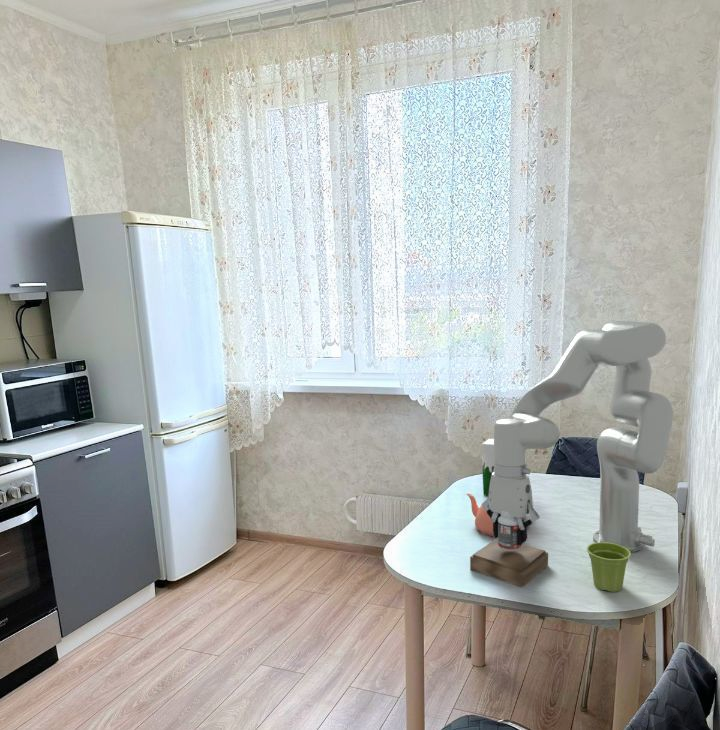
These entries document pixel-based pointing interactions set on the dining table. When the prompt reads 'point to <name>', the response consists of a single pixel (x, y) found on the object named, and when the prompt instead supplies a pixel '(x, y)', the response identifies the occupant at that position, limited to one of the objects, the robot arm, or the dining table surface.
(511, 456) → the robot arm
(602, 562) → the plant pot
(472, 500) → the teapot
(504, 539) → the pill bottle
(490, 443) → the milk carton
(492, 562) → the walnut base
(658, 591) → the dining table surface
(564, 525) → the dining table surface
